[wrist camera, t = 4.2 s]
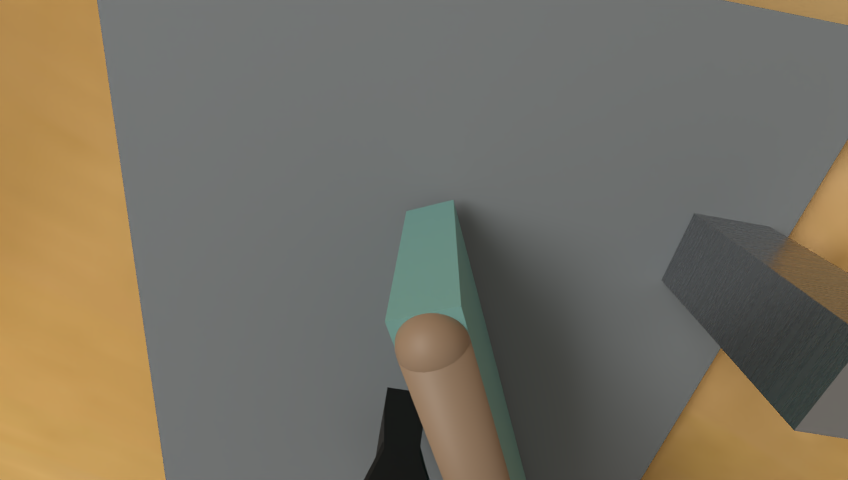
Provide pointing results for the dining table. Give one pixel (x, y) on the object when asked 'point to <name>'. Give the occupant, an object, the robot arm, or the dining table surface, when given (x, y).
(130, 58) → the slate mat
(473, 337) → the gate
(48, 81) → the dining table surface
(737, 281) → the dark grey rectangular block
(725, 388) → the dining table surface
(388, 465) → the robot arm
